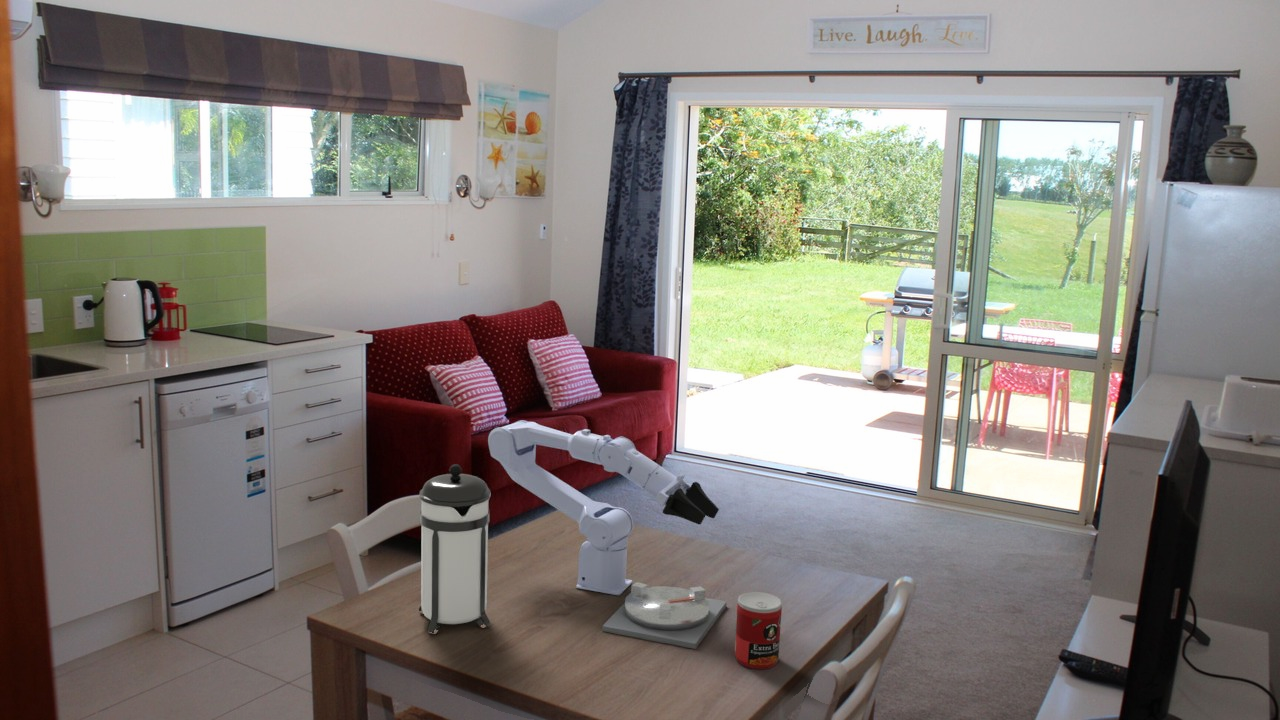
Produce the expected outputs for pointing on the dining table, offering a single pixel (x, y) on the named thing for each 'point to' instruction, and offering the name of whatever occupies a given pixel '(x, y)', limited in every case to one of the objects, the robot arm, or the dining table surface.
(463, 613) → the coffee press
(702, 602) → the round dial
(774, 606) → the canned food
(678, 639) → the slate base plate
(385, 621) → the dining table surface
